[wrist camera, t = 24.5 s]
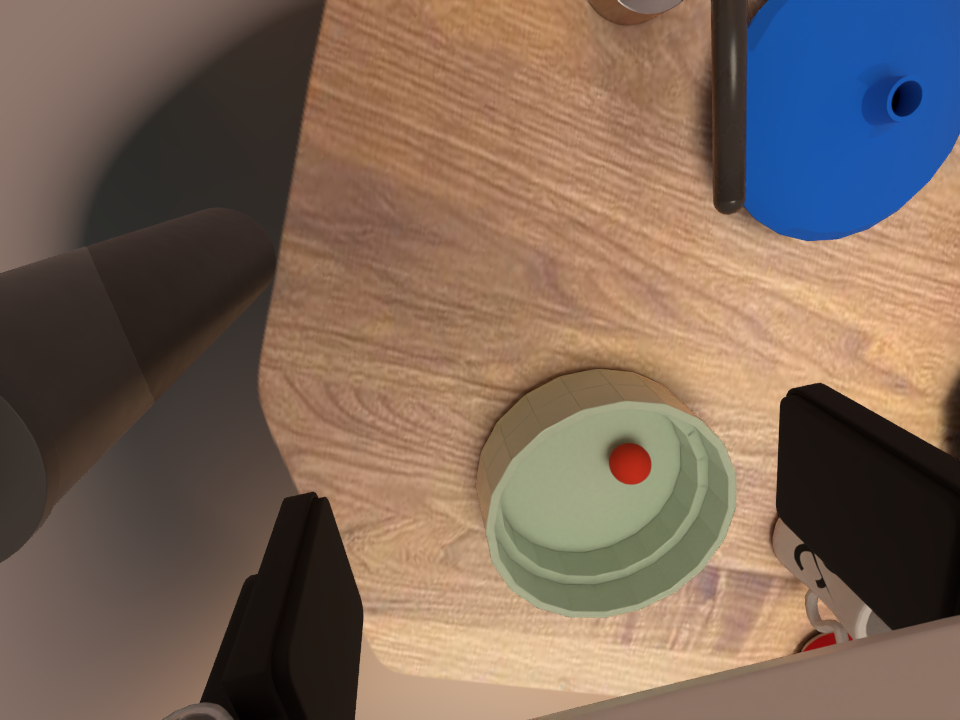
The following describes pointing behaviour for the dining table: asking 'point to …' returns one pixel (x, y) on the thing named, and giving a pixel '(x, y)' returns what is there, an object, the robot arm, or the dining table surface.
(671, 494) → the bowl
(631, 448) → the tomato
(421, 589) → the dining table surface
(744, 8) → the ladle
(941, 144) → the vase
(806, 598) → the mug
